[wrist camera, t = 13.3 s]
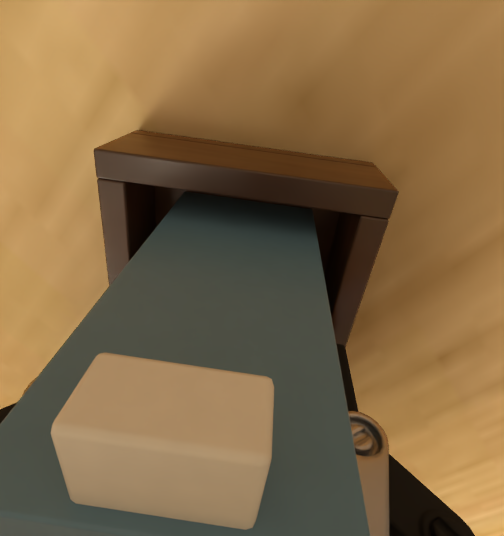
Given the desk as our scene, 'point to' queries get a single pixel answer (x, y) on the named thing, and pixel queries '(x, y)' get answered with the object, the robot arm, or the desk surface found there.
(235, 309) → the blue box with handle
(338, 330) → the holder
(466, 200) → the desk surface
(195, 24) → the desk surface
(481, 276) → the desk surface
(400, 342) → the desk surface
